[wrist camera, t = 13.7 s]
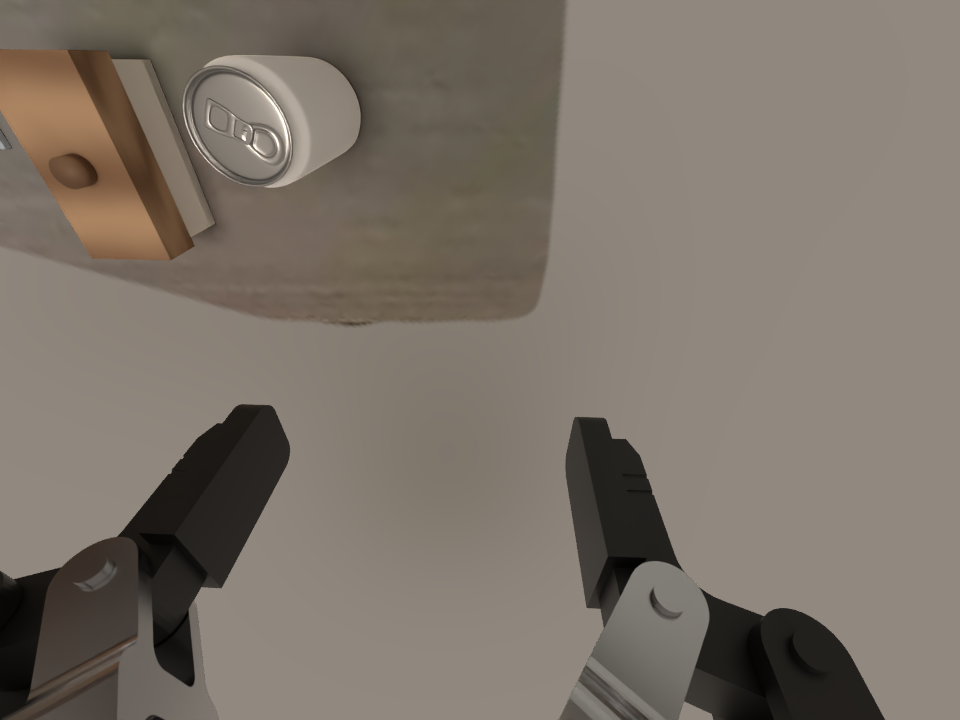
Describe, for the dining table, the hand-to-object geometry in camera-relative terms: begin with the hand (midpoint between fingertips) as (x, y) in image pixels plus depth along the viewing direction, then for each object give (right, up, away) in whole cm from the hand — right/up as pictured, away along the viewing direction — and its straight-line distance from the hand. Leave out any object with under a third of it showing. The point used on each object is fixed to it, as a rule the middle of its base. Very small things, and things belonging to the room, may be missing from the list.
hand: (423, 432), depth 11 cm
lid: (-26, +17, +19) cm, 36 cm away
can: (-11, +21, +20) cm, 31 cm away
